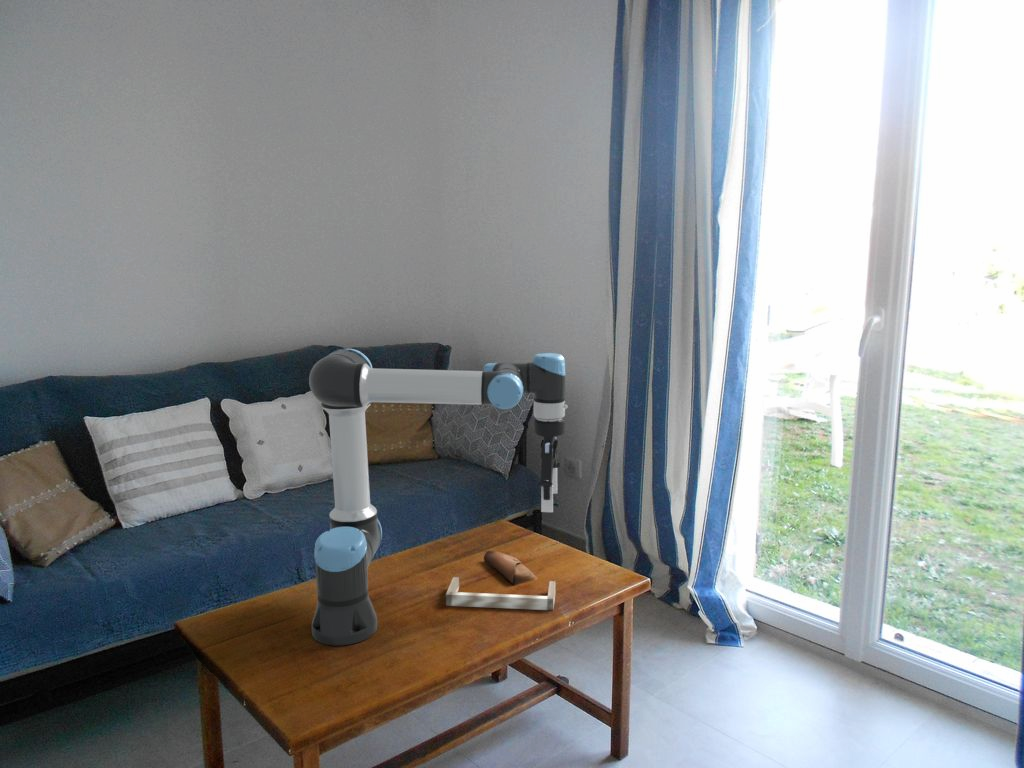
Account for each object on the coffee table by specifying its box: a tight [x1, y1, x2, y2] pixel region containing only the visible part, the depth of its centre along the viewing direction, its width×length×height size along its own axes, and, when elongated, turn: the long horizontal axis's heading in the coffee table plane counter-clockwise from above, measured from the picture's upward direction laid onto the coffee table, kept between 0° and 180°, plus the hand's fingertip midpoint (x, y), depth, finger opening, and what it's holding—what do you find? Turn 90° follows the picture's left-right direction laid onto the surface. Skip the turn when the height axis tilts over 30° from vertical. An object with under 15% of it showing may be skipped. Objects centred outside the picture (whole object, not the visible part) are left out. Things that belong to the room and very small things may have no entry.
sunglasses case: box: [483, 550, 538, 586], centre depth 208 cm, size 18×7×7 cm
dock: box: [445, 576, 557, 611], centre depth 191 cm, size 27×10×3 cm, turn 84°
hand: (549, 502), depth 184 cm, fingers open, 13 cm apart
